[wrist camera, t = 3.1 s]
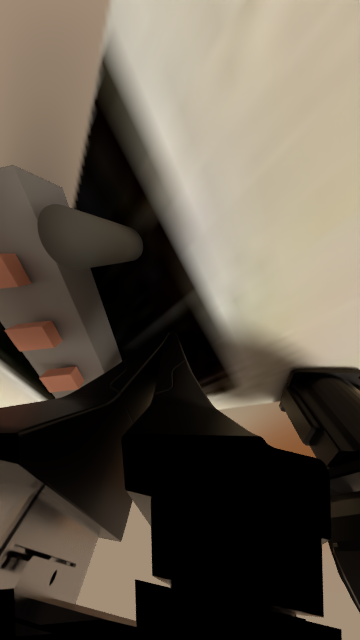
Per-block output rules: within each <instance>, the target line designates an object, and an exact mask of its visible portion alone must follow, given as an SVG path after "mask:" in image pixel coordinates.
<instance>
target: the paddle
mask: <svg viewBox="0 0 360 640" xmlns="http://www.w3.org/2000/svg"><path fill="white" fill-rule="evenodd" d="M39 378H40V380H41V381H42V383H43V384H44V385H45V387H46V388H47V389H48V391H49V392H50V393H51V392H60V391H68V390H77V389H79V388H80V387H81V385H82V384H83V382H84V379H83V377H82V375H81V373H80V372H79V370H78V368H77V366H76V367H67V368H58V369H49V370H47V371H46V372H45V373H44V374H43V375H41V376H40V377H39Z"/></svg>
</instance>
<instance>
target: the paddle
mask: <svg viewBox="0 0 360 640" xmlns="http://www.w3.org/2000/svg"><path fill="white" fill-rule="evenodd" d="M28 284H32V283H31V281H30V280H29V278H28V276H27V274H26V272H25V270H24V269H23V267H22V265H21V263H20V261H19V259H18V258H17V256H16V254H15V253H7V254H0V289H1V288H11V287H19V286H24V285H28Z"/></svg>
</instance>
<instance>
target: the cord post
mask: <svg viewBox="0 0 360 640" xmlns="http://www.w3.org/2000/svg"><path fill="white" fill-rule="evenodd" d="M37 227H38V234H39V238H40V240H41V243H42V245H43V247H44V248H45V250H46V252H47V253H48V254H49V255H50V257H51V258H52V259H53V260H54V261H56V262H57V263H58V264H60V265H61V266H63V267H65V268H67V269H71V270H80V269H86V268H92V267H98V266H104V265H110V264H116V263H122V262H128V261H134V260H136V259H138V258H139V257H140V256H141V254H142V251H143V242H142V239H141V237H140V235H139V234H138V232H137V231H135V230H134V229H132V228H130V227H127V226H124V225H121V224H118V223H115V222H112V221H109V220H106V219H103V218H100V217H97V216H94V215H91V214H88V213H85V212H81V211H78V210H75V209H72V208H69V207H66V206H63V205H60V204H51V205H48V206H46V207H45V208H44V209H43V210H42V211H41V212H40V214H39V217H38V222H37Z"/></svg>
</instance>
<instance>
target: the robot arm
mask: <svg viewBox="0 0 360 640" xmlns="http://www.w3.org/2000/svg"><path fill="white" fill-rule="evenodd" d="M279 407H280V409H281V411H284V412H286V413H287V415H288V417H289V419H290V420H291V422H292V424H293V426H294V428H295V429H296V431H297V433H298V435H299V437H300V439H301V440H302V442H303V443H304V444H305V445H307V446H310V447H311V449H312V451H313V453H314V454H315V456H316V458H313V457H310V456H305V455H301V454H297V453H293V452H289V451H285V450H281V449H277V448H273V447H272V446H270V445H268V444H267V443H266V442H265V440H264V439H263V438H262V437H260V436H258V435H255V434H253V433H251V432H250V431H248V430H246V429H245V428H243V427H242V426H240V425H239V424H238V423H236V422H234V421H233V420H232V419H230V418H229V417H227V416H226V415H224V414H223V413H221V412H220V411H219V410H217V409H216V408H215V407H214V406H213V405H212V403H211V402H210V401H209V399H208V398H207V396H206V394H205V393H204V391H203V390H202V388H201V386H200V385H199V383H198V381H197V380H196V378H195V376H194V375H193V373H192V371H191V369H190V366H189V364H188V362H187V359H186V357H185V354H184V351H183V349H182V346H181V344H180V341H179V339H178V336H177V334H176V332H170V333H169V332H164V333H162V334H160V335H159V336H158V337H156V338H155V339H153V340H152V341H151V342H149V343H148V344H146V345H145V346H143V347H142V348H141V349H139V350H138V351H136V352H135V353H133V354H132V355H131V356H129V357H128V358H126V359H125V360H123V361H122V362H121V363H119V364H118V365H116V366H115V367H113V368H112V369H110V370H109V371H107V372H105V373H104V374H102V375H101V376H99V377H97V378H96V379H94V380H92V381H91V382H89V383H87V384H86V385H84V386H82V387H81V388H79V389H77V390H76V391H74V392H72V393H70V394H68V395H66V396H63V397H61V398H57V399H53V400H47V401H41V402H35V403H29V404H22V405H16V406H10V407H3V408H0V640H341V639H342V638H341V629H337V628H333V627H329V626H324V625H321V624H316V623H312V622H308V621H306V620H305V619H302V618H298V617H296V615H305V616H315V617H323V616H324V615H323V579H322V578H323V576H322V544H324V543H326V542H327V541H328V543H329V546H330V549H331V552H332V555H333V558H334V561H335V564H336V567H337V570H338V573H339V575H340V577H341V579H342V581H343V583H344V584H345V586H346V588H347V590H348V592H349V594H350V596H351V598H352V600H353V602H354V603H355V605H356V607H357V609H358V610H359V612H360V370H327V369H294V370H292V371H291V373H290V376H289V379H288V382H287V384H286V387H285V390H284V393H283V396H282V399H281V402H280V405H279ZM132 500H133V501H134V503H135V504H136V506H137V507H138V508H139V510H140V511H141V513H142V514H143V516H144V517H145V518H146V520H147V521H148V523H149V524H150V526H151V536H152V537H151V539H152V575H153V576H154V577H156V578H157V579H159V580H161V581H163V582H165V583H166V584H168V585H170V588H169V587H164V586H160V585H156V584H152V583H148V582H144V581H140V580H135V589H136V590H135V591H136V621H134V620H130V619H127V618H123V617H119V616H116V615H112V614H108V613H105V612H101V611H97V610H94V609H90V608H87V607H83V606H79V605H76V601H77V598H78V595H79V592H80V589H81V586H82V584H83V581H84V578H85V575H86V572H87V569H88V566H89V563H90V560H91V557H92V554H93V552H94V549H95V546H96V543H97V540H98V537H99V538H104V539H109V540H115V541H119V542H121V540H122V537H123V533H124V530H125V526H126V523H127V519H128V515H129V511H130V508H131V504H132Z"/></svg>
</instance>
